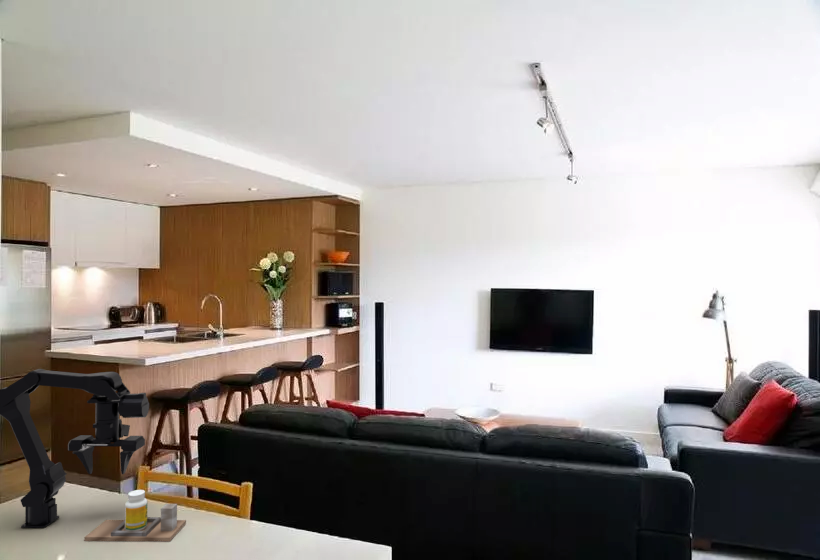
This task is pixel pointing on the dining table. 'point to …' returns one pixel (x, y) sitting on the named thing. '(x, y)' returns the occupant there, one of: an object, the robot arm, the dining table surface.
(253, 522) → the dining table surface
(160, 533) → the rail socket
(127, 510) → the supplement bottle
